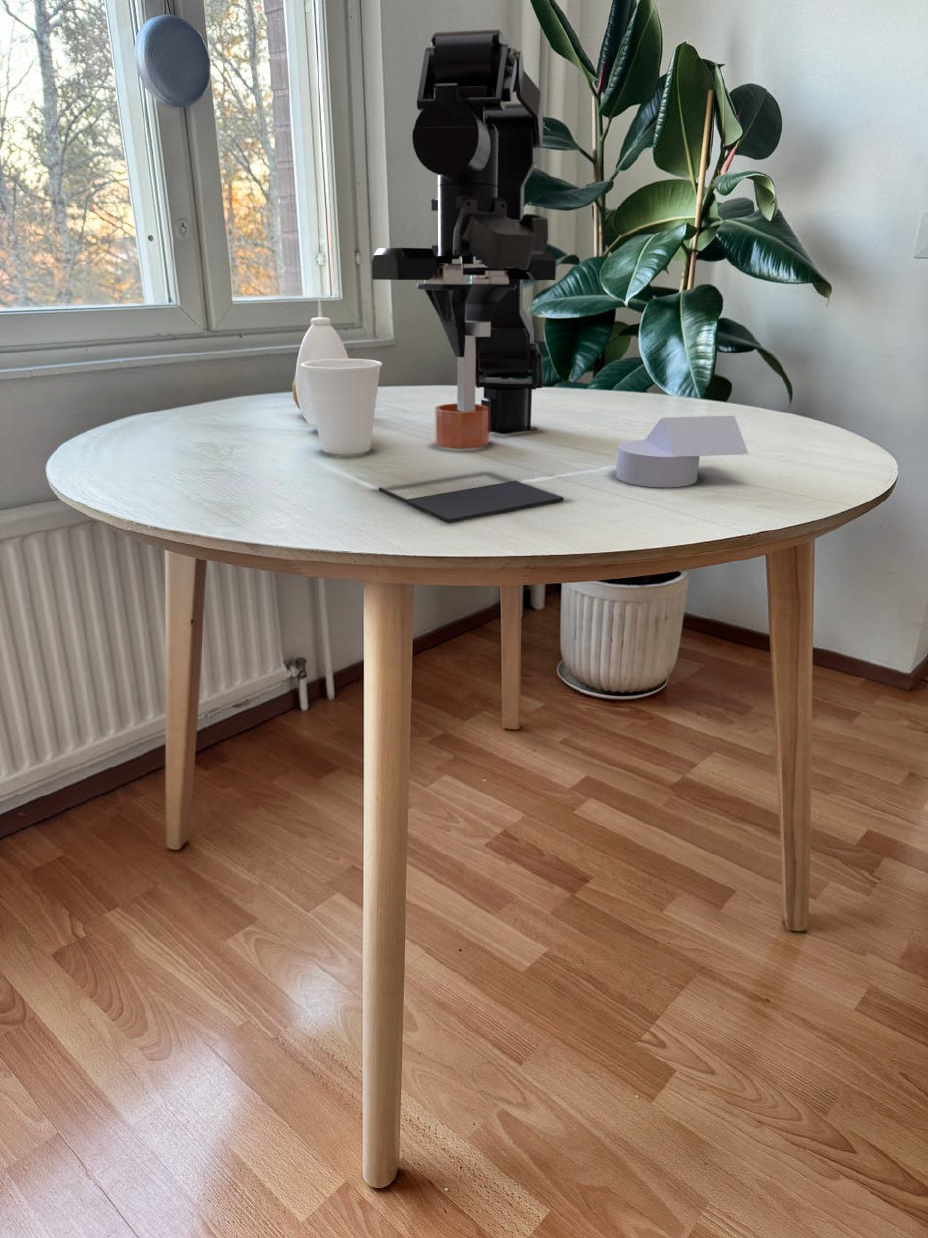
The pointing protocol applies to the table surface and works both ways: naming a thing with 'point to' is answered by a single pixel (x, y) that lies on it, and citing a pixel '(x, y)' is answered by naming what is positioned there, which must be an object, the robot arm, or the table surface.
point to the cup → (343, 402)
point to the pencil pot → (461, 426)
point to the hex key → (469, 364)
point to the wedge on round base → (677, 450)
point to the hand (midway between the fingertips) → (466, 356)
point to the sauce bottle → (316, 357)
